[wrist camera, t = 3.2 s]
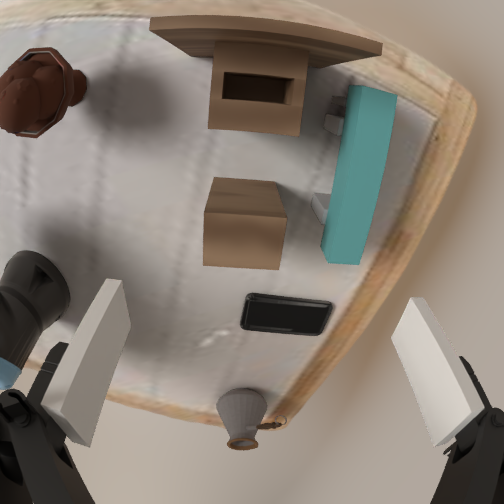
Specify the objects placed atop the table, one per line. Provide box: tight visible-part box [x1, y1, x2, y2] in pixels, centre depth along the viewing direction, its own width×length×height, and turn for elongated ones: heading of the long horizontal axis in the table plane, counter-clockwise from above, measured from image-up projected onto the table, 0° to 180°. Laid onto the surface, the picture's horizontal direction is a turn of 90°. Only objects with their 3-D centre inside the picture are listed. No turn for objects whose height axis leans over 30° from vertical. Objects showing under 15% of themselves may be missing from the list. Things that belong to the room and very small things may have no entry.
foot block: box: [203, 177, 287, 270], centre depth 36 cm, size 6×8×12 cm
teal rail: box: [320, 85, 398, 265], centre depth 33 cm, size 20×4×9 cm, turn 175°
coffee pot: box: [216, 388, 287, 450], centre depth 56 cm, size 21×12×15 cm, turn 153°
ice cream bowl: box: [0, 47, 87, 138], centre depth 24 cm, size 11×11×15 cm
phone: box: [240, 293, 332, 336], centre depth 51 cm, size 8×1×15 cm
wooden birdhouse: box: [149, 15, 383, 137], centre depth 25 cm, size 9×16×18 cm, turn 85°
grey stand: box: [311, 114, 345, 225], centre depth 36 cm, size 13×5×6 cm, turn 175°
